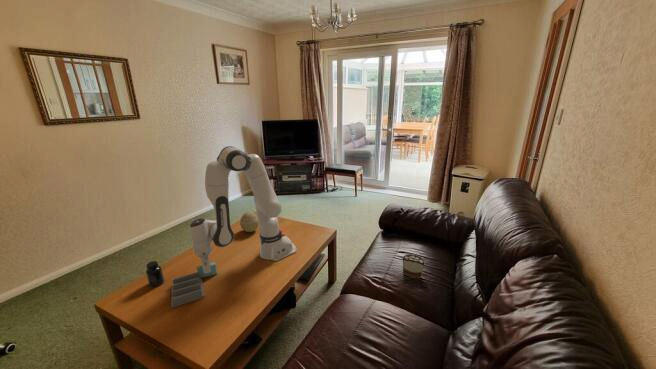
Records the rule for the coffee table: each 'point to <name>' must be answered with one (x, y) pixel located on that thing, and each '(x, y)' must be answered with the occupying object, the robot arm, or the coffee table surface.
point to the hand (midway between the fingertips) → (207, 270)
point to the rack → (186, 289)
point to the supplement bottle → (154, 274)
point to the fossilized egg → (249, 222)
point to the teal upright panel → (201, 274)
